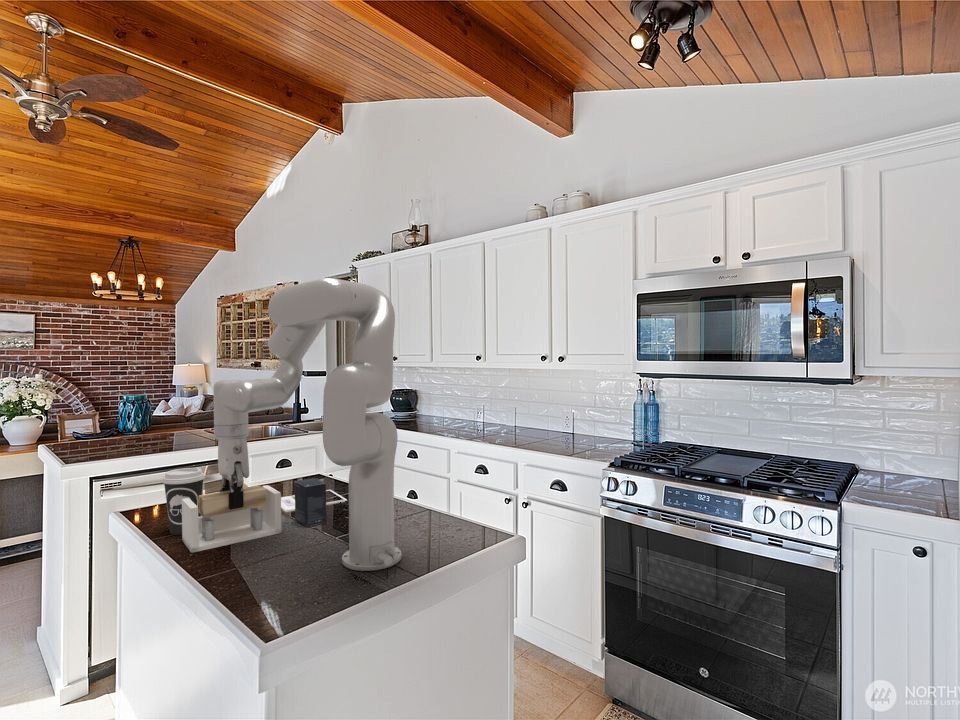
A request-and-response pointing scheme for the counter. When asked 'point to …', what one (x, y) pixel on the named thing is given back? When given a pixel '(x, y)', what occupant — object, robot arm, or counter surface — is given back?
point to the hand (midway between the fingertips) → (232, 504)
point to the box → (310, 502)
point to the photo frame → (289, 502)
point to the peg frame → (230, 524)
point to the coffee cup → (181, 493)
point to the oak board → (220, 501)
